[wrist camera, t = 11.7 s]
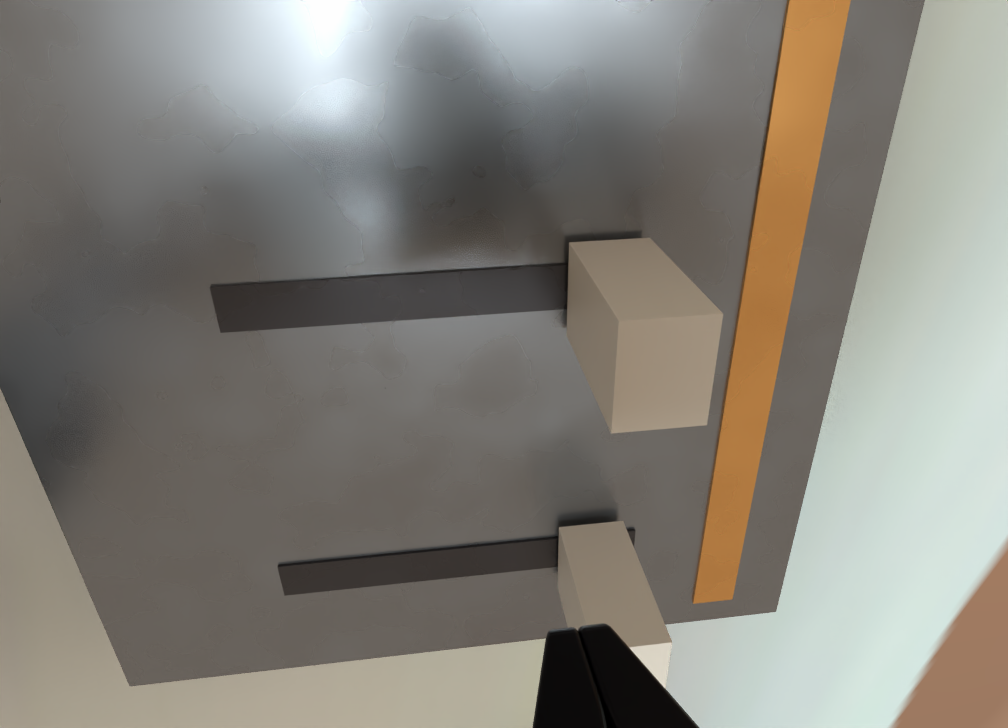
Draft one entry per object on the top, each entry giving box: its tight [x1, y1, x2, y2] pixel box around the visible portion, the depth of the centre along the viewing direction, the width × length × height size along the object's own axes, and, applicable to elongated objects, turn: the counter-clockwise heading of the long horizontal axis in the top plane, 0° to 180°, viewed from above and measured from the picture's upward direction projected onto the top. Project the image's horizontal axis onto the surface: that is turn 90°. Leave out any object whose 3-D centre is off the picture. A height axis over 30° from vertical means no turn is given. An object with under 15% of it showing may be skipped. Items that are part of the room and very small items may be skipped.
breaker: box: [557, 521, 672, 688], centre depth 20 cm, size 2×2×4 cm
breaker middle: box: [567, 238, 723, 434], centre depth 15 cm, size 2×2×4 cm
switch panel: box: [0, 0, 925, 686], centre depth 18 cm, size 22×26×2 cm
